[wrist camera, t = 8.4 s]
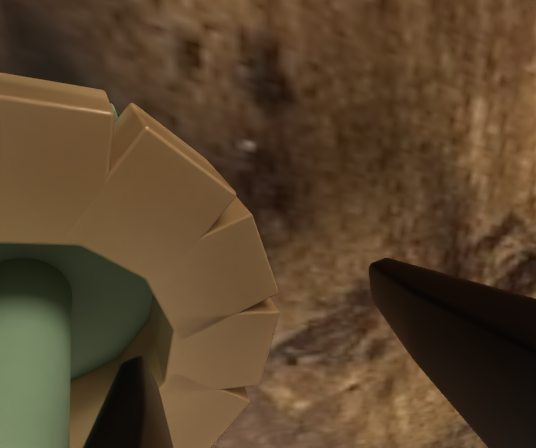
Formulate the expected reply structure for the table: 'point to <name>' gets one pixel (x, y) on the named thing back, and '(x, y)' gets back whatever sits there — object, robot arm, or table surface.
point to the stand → (58, 332)
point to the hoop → (143, 246)
